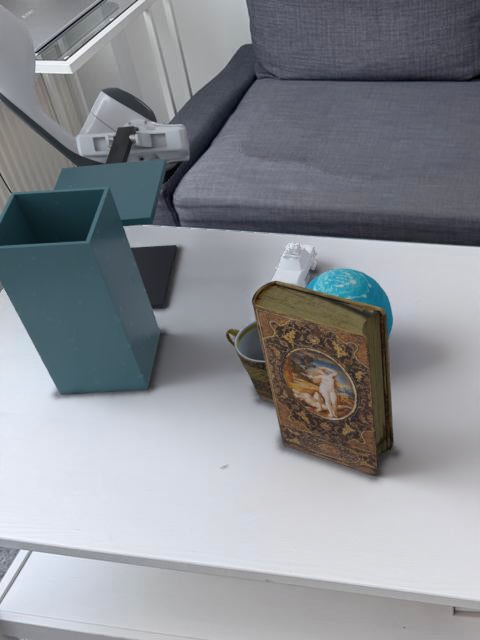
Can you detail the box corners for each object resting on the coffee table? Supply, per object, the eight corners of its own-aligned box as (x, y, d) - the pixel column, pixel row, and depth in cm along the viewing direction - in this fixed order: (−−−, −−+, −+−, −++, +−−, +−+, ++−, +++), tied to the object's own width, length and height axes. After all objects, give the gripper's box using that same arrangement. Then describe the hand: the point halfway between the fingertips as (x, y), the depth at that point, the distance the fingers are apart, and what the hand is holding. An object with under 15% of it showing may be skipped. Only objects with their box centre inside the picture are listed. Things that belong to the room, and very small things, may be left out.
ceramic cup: (322, 379, 118) (315, 328, 110) (288, 420, 113) (278, 370, 105) (254, 355, 122) (242, 305, 114) (218, 394, 117) (203, 344, 109)
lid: (152, 224, 118) (150, 217, 117) (40, 234, 118) (37, 227, 117) (176, 128, 136) (174, 121, 135) (79, 137, 137) (77, 131, 136)
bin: (147, 389, 118) (89, 243, 97) (59, 394, 118) (-18, 249, 97) (160, 332, 126) (109, 186, 106) (78, 337, 127) (11, 192, 106)
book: (277, 444, 110) (244, 303, 90) (295, 419, 113) (267, 278, 93) (378, 478, 105) (367, 337, 85) (394, 451, 108) (387, 309, 88)
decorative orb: (323, 320, 127) (312, 241, 115) (406, 336, 123) (404, 256, 111) (287, 378, 118) (271, 299, 106) (375, 397, 115) (370, 318, 103)
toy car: (269, 298, 131) (263, 264, 125) (290, 258, 138) (284, 225, 132) (302, 302, 130) (297, 268, 124) (321, 262, 137) (317, 228, 131)
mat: (163, 308, 130) (162, 304, 130) (89, 312, 131) (88, 308, 130) (177, 248, 141) (176, 244, 141) (109, 252, 142) (107, 248, 141)
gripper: (87, 130, 145) (60, 124, 132) (192, 124, 144) (175, 117, 132) (94, 166, 147) (68, 163, 134) (197, 160, 147) (181, 156, 134)
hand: (122, 140), depth 133 cm, fingers closed on lid, 3 cm apart
